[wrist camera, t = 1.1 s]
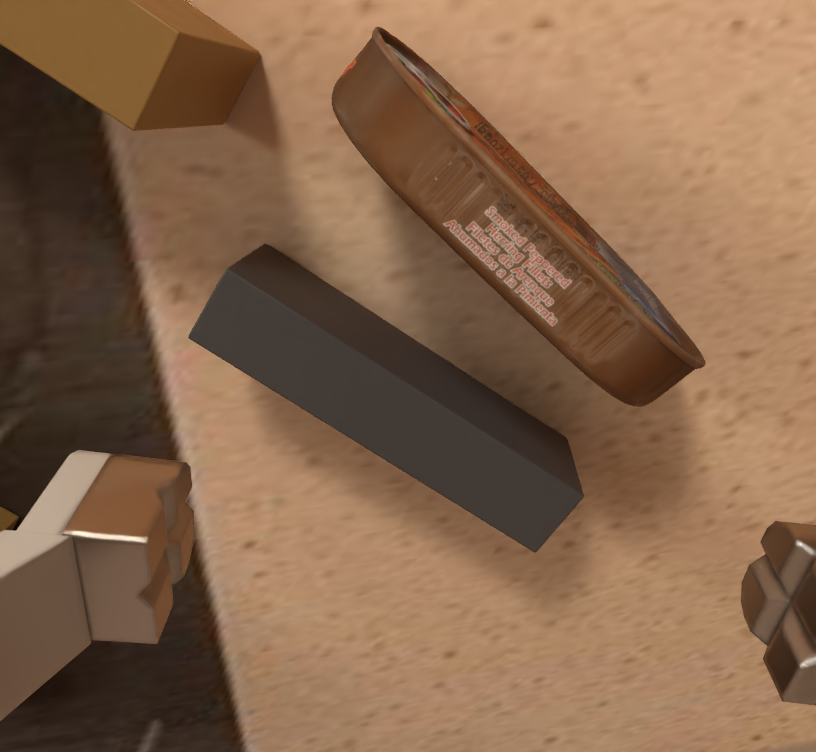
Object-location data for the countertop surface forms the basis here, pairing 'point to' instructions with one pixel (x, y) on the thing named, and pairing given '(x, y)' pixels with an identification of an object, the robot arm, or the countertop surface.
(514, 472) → the grey rectangular block
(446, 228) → the tin
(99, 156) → the countertop surface
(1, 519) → the tan cardboard-coloured block
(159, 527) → the robot arm
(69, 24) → the khaki rectangular brick
